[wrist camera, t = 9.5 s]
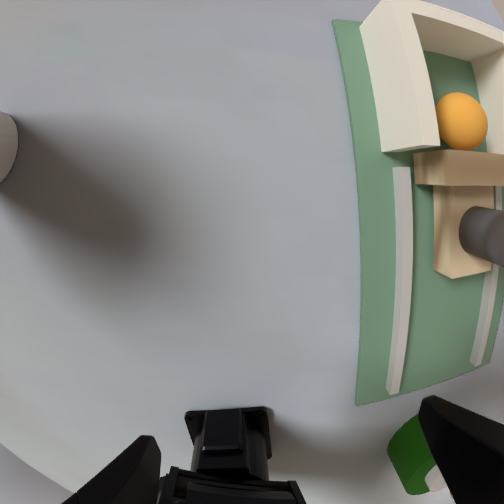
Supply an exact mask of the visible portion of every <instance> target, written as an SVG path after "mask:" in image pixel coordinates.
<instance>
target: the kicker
mask: <svg viewBox="0 0 504 504" xmlns="http://www.w3.org/2000/svg"><path fill="white" fill-rule="evenodd" d="M413 160H414V172H415V184H428V185H433V198H434V259H433V269H434V270H435V271H437V272H439V273H441V274H443V275H445V276H447V277H449V278H451V279H454V278H459V277H463V276H468V275H473V274H477V273H482V272H486V271H490V270H491V263H494V264H496V265H499V266H501V267H504V211H502V210H497V209H494V191H493V186H504V154H496V153H486V152H475V151H463V150H439V151H431V152H422V153H415V154H413Z"/></svg>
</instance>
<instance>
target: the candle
mask: <svg viewBox="0 0 504 504" xmlns="http://www.w3.org/2000/svg"><path fill="white" fill-rule="evenodd" d="M387 452H388V456H389V458H390V460H391V462H392V464H393V466H394V468H395V470H396V472H397V474H398V476H399V478H400V480H401V482H402V484H403V486H404V488H405V490H406V492H407V493H408V494H410V495H419V494H423V493H426V492H429V491H438V490H441V489H443V488H445V487H447V484H446V482H445V480H444V478H443V476H442V474H441V472H440V470H439V468H438V466H437V464H436V462H435V460H434V458H433V456H432V454H431V452H430V450H429V447H428V444H427V442H426V439H425V436H424V434H423V431H422V428H421V426H420V423H419V420H418V415H416V416H415V417H413V418H412V419H410V420H409V421H408V422H406V423H405V424H404V425H403V426H402V427H401V428H400V429H399V430H398V431H397V432H396V433H395V435H394V436H393V438H392V439H391V441H390V443H389V445H388V449H387ZM450 495H451V497H452V498H453V496H452V494H451V492H450Z"/></svg>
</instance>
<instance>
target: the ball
mask: <svg viewBox="0 0 504 504" xmlns="http://www.w3.org/2000/svg"><path fill="white" fill-rule="evenodd" d="M435 111H436V117H437V124H438V131H439V136H440V137H441V139H442V140H443V141H444V142H445V143H446V144H448V145H449V146H451V147H452V148H454V149H457V150H463V151H468V150H472V149H475V148H477V147H478V146H479V145H481V144H482V142H483V141H484V140H485V137H486V135H487V131H488V120H487V116H486V113H485V111H484V109H483V108H482V106H481V105H480V104H479V103H478V101H476V100H475V99H474V98H473V97H471V96H469V95H467V94H464V93H459V92H454V93H450V94H447V95H445V96H444V97H442V98H441V99H440V100H439V102H438V103H437V105H436V107H435Z"/></svg>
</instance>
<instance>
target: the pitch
mask: <svg viewBox="0 0 504 504" xmlns="http://www.w3.org/2000/svg"><path fill="white" fill-rule="evenodd" d="M332 25H333V29H334V33H335V38H336V42H337V47H338V52H339V57H340V62H341V67H342V73H343V78H344V84H345V90H346V96H347V102H348V109H349V116H350V123H351V131H352V139H353V148H354V157H355V167H356V178H357V191H358V205H359V223H360V250H361V314H360V341H359V358H358V372H357V385H356V395H355V405H356V406H361V405H365V404H369V403H373V402H377V401H381V400H385V399H389V398H392V397H396V396H399V395H403V394H406V393H410V392H413V391H416V390H419V389H422V388H425V387H428V386H431V385H434V384H437V383H440V382H443V381H446V380H448V379H451V378H454V377H456V376H459V375H462V374H464V373H467V372H469V371H472V370H474V369H477V368H479V367H481V366H484V365H486V364H488V363H489V362H490V358H491V354H492V351H493V347H494V343H495V339H496V334H497V330H498V325H499V320H500V315H501V310H502V304H503V298H504V267H501V266H499V265H496V264H494V263H491V270H490V271H486V272H482V273H477V274H473V275H468V276H463V277H459V278H454V279H451V278H449V277H447V276H445V275H443V274H441V273H439V272H437V271H435V270H434V269H433V259H434V198H433V185H428V184H415V172H414V160H413V154H415V153H422V152H431V151H439V150H457V149H454V148H452V147H451V146H449V145H448V144H446V143H445V142H444V141H443V140H442V139H441V137H440V136H439V131H438V124H437V117H436V111H435V107H436V105H437V103H438V102H439V100H440V99H441V98H442V97H444V96H445V95H447V94H450V93H454V92H459V93H464V94H467V95H469V96H471V97H473V98H474V99H475V100H476V101H478V103H479V104H480V105H481V106H482V108H483V109H484V111H485V113H486V116H487V120H488V131H487V135H486V137H485V140H484V141H483V142H482V144H481V145H479V146H478V147H477V148H475V149H472V150H468V151H475V152H486V153H496V154H504V31H501V30H499V29H497V28H495V27H493V26H491V25H488V24H486V23H484V22H481V21H479V20H476V19H474V18H471V17H469V16H466V15H463V14H461V13H458V12H455V11H452V10H449V9H446V8H443V7H440V6H437V5H434V4H430V3H427V2H423V1H420V0H381V1H380V2H379V4H378V5H377V6H376V7H375V8H374V10H373V11H372V12H371V13H370V14H369V16H368V17H367V18H366V19H365V20H364V22H359V21H349V20H338V19H333V21H332ZM493 191H494V209H497V210H502V211H504V186H493Z"/></svg>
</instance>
